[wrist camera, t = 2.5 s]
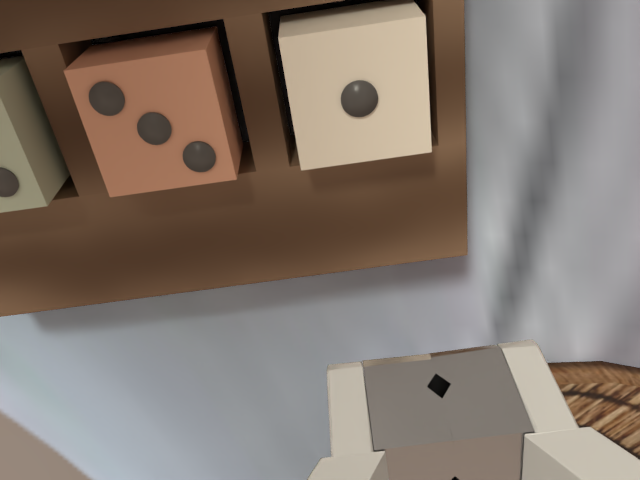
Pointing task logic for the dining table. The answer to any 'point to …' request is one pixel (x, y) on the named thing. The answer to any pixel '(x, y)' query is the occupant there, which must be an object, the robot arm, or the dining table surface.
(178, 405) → the dining table surface
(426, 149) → the key one
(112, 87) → the key three
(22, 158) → the key two
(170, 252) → the key panel
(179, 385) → the dining table surface
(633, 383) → the trivet
